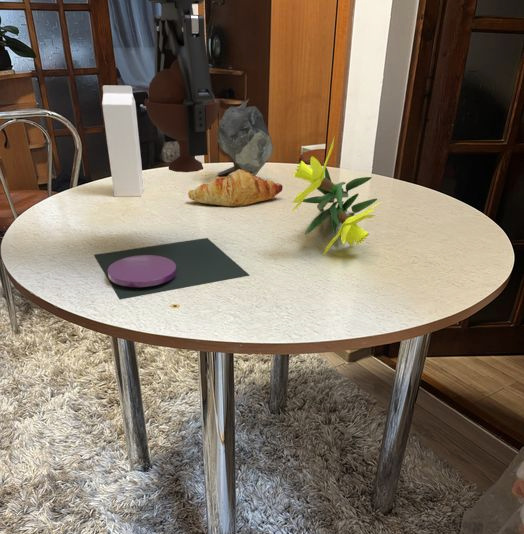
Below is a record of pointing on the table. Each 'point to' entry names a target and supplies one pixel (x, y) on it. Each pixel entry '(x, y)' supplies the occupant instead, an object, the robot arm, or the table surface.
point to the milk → (123, 140)
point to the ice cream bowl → (175, 113)
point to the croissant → (235, 190)
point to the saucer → (142, 271)
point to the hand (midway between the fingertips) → (184, 147)
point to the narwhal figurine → (244, 139)
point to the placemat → (178, 266)
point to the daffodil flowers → (332, 191)
